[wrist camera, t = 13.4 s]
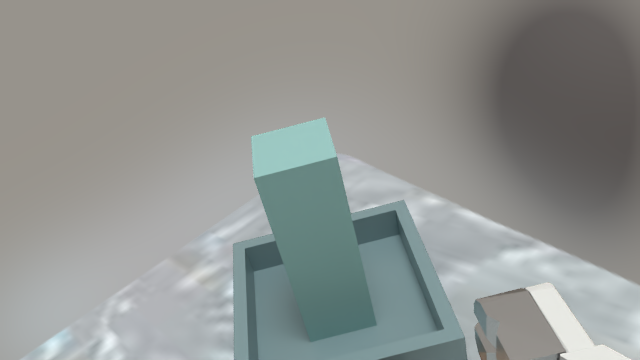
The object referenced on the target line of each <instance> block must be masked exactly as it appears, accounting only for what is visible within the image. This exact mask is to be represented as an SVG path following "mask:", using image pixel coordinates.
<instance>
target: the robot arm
mask: <svg viewBox="0 0 640 360" xmlns="http://www.w3.org/2000/svg"><path fill="white" fill-rule="evenodd" d="M474 313H475V315H476V317H477V319H478V321H479V322H478V323H477V325H476V326H475V339H476V344H477V348H478V352H479V355H480V357H481V360H632V359H630V358H628V357H626V356H624V355H622V354H621V353H619V352H617V351H615V350H613V349H611V348H609V347H608V346H606V345H604V344H601V345H596V346H595V344H594V343H593V341H592V340H591V338H590V337H589V336H588V334H587V333H586V331H585V330H584V328H583V327H582V325H581V324H580V323H579V321H578V320H577V318H576V317H575V315H574V314H573V313H572V311H571V310H570V308H569V307H568V305H567V304H566V302H565V301H564V300H563V298H562V297H561V295H560V294H559V292H558V291H557V290H556V288H555V287H554V285H552V284H551V283H549V282H547V283H543V284H539V285H535V286H530V287H526V288H520V289H516V290H512V291H508V292H504V293H500V294H496V295H492V296H488V297H484V298H480V299H476V300H475V303H474Z"/></svg>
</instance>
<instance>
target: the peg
mask: <svg viewBox="0 0 640 360" xmlns="http://www.w3.org/2000/svg"><path fill="white" fill-rule="evenodd" d="M251 141H252V157H253V173H254V180H255V183H256V185H257V189H258V191H259V194H260V197H261V200H262V203H263V206H264V209H265V212H266V215H267V217H268V220H269V223H270V226H271V229H272V232H273V235H274V238H275V241H276V243H277V246H278V249H279V252H280V255H281V258H282V261H283V264H284V267H285V269H286V272H287V275H288V278H289V281H290V284H291V287H292V290H293V292H294V295H295V298H296V301H297V304H298V307H299V310H300V313H301V316H302V318H303V321H304V324H305V327H306V330H307V333H308V336H309V339H310V342H314V341H318V340H322V339H325V338H329V337H333V336H337V335H341V334H345V333H349V332H353V331H357V330H361V329H365V328H369V327H373V326H376V325H377V323H376V319H375V315H374V311H373V306H372V302H371V298H370V294H369V290H368V285H367V281H366V277H365V273H364V268H363V264H362V260H361V256H360V251H359V247H358V243H357V239H356V235H355V230H354V226H353V222H352V218H351V213H350V209H349V205H348V201H347V196H346V192H345V188H344V184H343V180H342V175H341V171H340V167H339V163H338V158H337V155H336V152H335V148H334V145H333V142H332V139H331V135H330V132H329V129H328V126H327V122H326V119H325V118H321V119H318V120H314V121H310V122H305V123H302V124H298V125H294V126H290V127H286V128H282V129H278V130H275V131H271V132H267V133H263V134H260V135H255V136H251Z"/></svg>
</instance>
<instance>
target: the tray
mask: <svg viewBox="0 0 640 360" xmlns="http://www.w3.org/2000/svg"><path fill="white" fill-rule="evenodd" d="M351 218H352V222H353V226H354V230H355V235H356V239H357V243H358V247H359V251H360V256H361V260H362V264H363V268H364V273H365V277H366V281H367V285H368V290H369V294H370V298H371V302H372V306H373V311H374V315H375V319H376V323H377V325H376V326H373V327H369V328H365V329H361V330H357V331H353V332H349V333H345V334H341V335H337V336H333V337H329V338H325V339H322V340H318V341H314V342H310V339H309V336H308V333H307V330H306V327H305V324H304V321H303V318H302V316H301V313H300V310H299V307H298V304H297V301H296V298H295V295H294V292H293V290H292V287H291V284H290V281H289V278H288V275H287V272H286V269H285V267H284V264H283V261H282V258H281V255H280V252H279V249H278V246H277V243H276V241H275V238H274V235H273V234H269V235H266V236H262V237H258V238H254V239H250V240H246V241H242V242H238V243H234V244H233V288H234V360H467V354H466V344H465V337H464V334H463V332H462V330H461V328H460V325H459V323H458V321H457V319H456V316H455V314H454V312H453V310H452V307H451V305H450V303H449V301H448V298H447V296H446V294H445V292H444V289H443V287H442V285H441V283H440V280H439V278H438V276H437V274H436V271H435V269H434V267H433V265H432V262H431V260H430V258H429V256H428V253H427V251H426V249H425V247H424V244H423V242H422V240H421V237H420V235H419V233H418V231H417V228H416V226H415V224H414V222H413V219H412V217H411V215H410V213H409V210H408V208H407V206H406V204H405V201H404V200H402V201H398V202H394V203H390V204H386V205H382V206H379V207H375V208H371V209H367V210H363V211H359V212H355V213H351Z"/></svg>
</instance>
